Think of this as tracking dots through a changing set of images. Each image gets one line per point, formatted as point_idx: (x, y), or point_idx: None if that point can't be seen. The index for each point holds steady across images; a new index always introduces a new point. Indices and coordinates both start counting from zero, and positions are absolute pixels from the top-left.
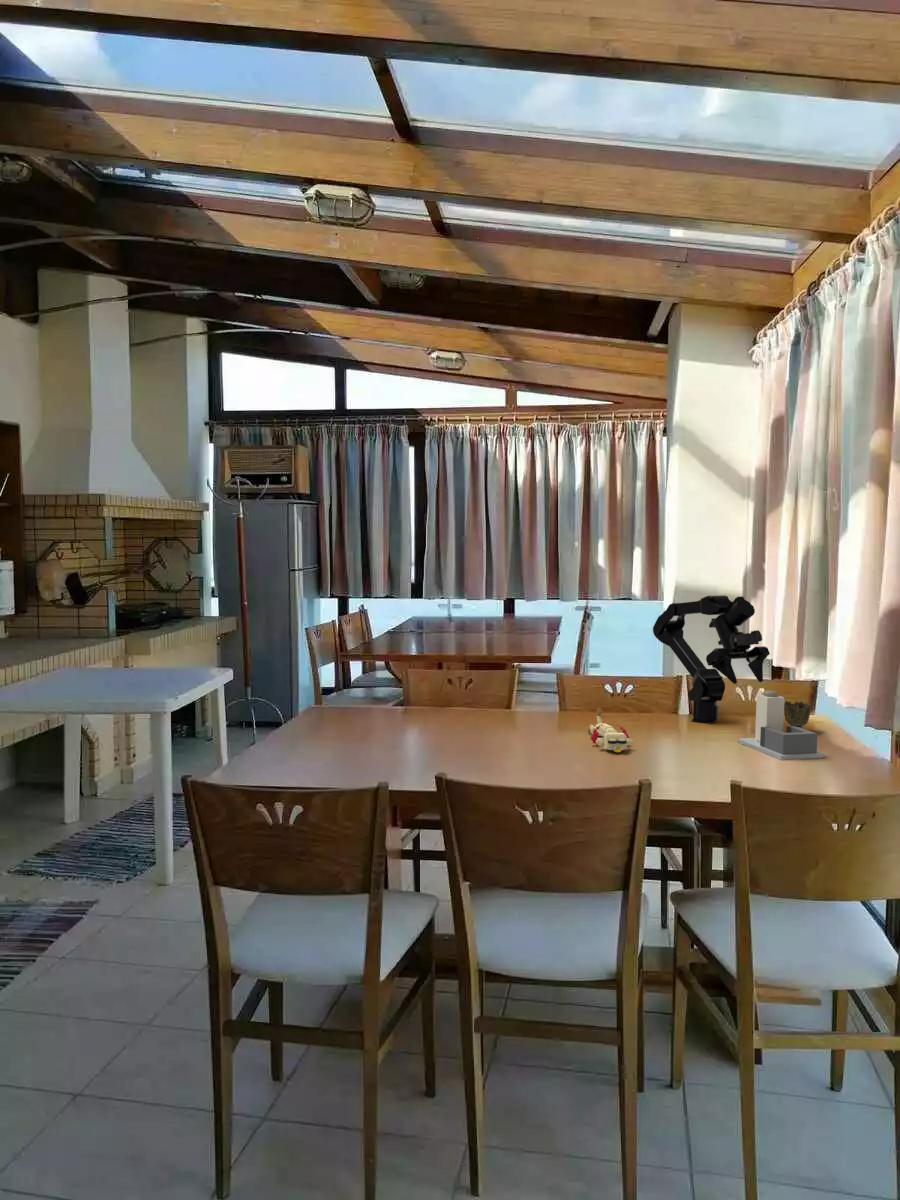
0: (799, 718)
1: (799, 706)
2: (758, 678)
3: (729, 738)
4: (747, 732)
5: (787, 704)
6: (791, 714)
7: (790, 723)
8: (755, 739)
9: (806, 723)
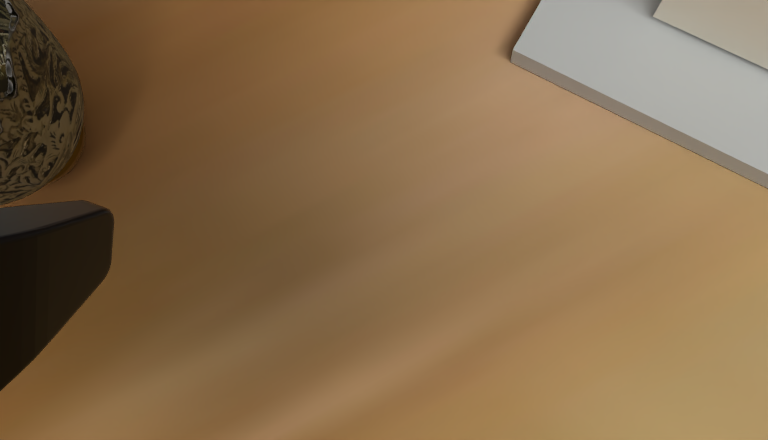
0: (55, 39)
1: None
2: (52, 306)
3: (764, 348)
4: (406, 370)
5: None
6: (58, 87)
7: (78, 137)
8: (759, 103)
9: (2, 44)
